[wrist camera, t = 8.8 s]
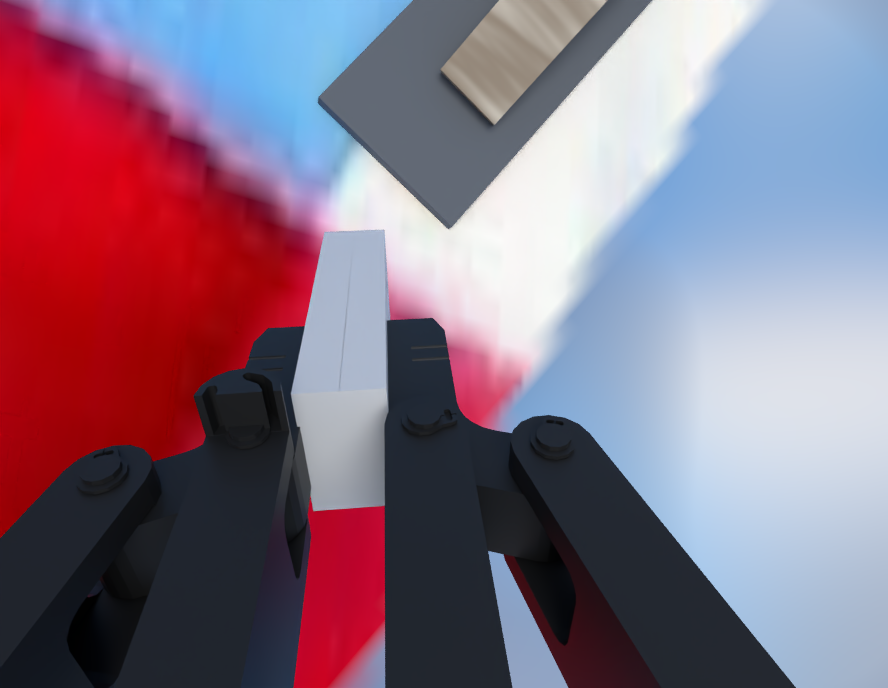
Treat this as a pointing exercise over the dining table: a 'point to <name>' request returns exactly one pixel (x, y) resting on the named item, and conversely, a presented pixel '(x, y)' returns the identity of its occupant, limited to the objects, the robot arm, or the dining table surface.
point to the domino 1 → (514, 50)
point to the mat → (452, 100)
